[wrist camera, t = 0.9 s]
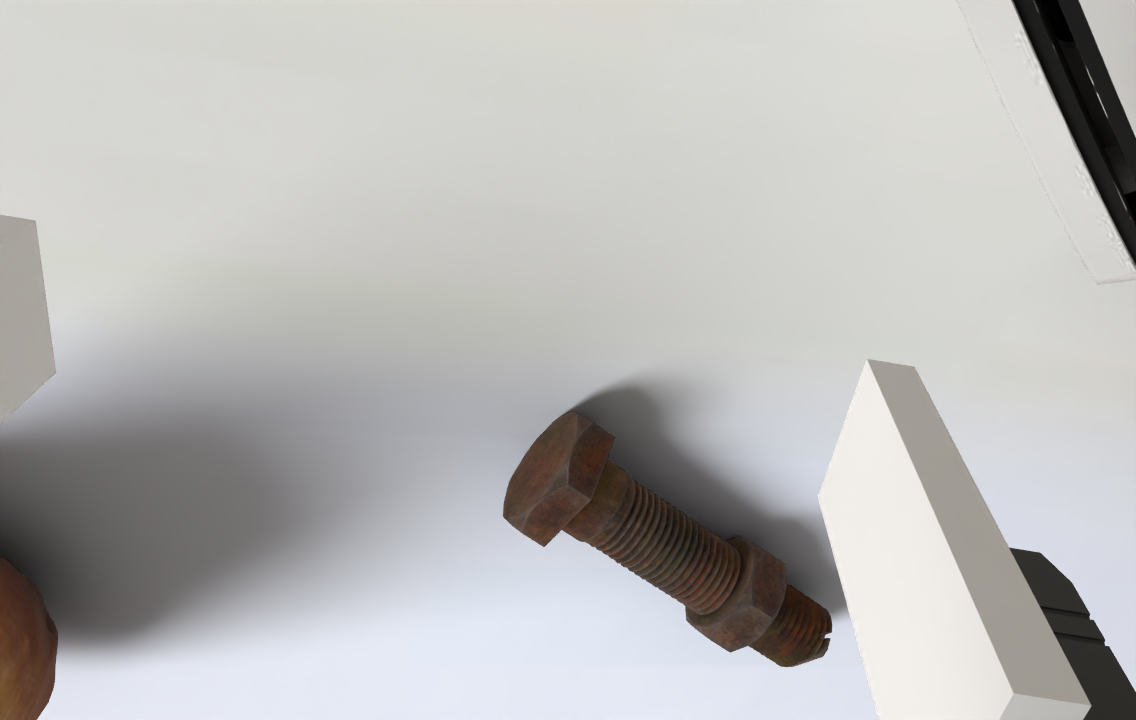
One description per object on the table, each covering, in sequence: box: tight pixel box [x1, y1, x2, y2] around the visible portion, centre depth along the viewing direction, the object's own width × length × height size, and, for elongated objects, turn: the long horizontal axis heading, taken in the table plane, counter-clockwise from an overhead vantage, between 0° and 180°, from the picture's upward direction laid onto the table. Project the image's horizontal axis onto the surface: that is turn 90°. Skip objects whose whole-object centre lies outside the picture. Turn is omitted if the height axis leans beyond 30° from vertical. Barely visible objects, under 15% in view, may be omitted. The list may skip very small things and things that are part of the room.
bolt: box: [503, 411, 832, 667], centre depth 40 cm, size 6×5×15 cm
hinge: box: [956, 0, 1136, 284], centre depth 27 cm, size 17×5×10 cm, turn 34°
